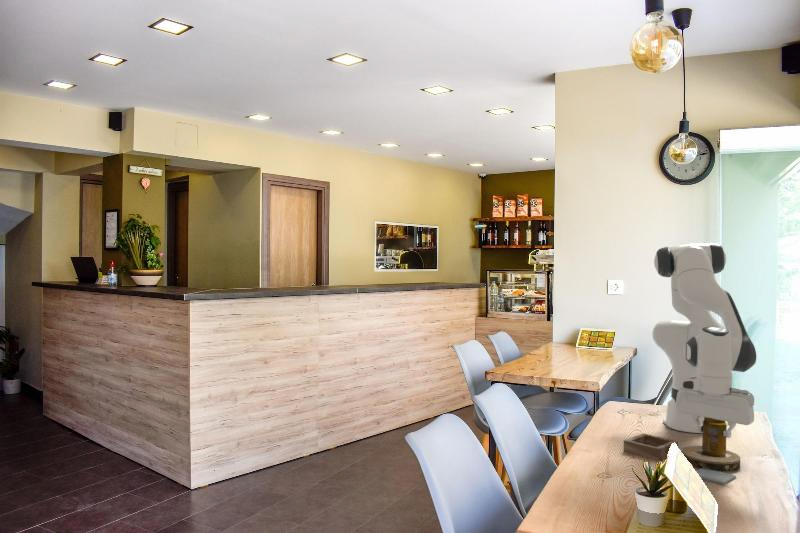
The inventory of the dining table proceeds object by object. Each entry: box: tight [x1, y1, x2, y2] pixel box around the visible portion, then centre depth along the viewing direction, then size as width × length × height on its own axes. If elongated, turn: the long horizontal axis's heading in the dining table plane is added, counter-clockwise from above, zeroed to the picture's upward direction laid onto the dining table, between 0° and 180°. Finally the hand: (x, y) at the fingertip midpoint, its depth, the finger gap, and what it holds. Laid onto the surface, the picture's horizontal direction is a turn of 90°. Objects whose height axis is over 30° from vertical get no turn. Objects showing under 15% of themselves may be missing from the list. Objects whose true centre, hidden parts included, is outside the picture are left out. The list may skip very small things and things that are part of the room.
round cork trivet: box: [681, 445, 741, 473], centre depth 190 cm, size 16×16×3 cm
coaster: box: [696, 467, 737, 486], centre depth 177 cm, size 9×9×1 cm
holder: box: [623, 433, 679, 461], centre depth 200 cm, size 13×12×4 cm
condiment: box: [692, 417, 732, 459], centre depth 177 cm, size 7×8×12 cm
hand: (713, 434), depth 177 cm, fingers closed on condiment, 6 cm apart
